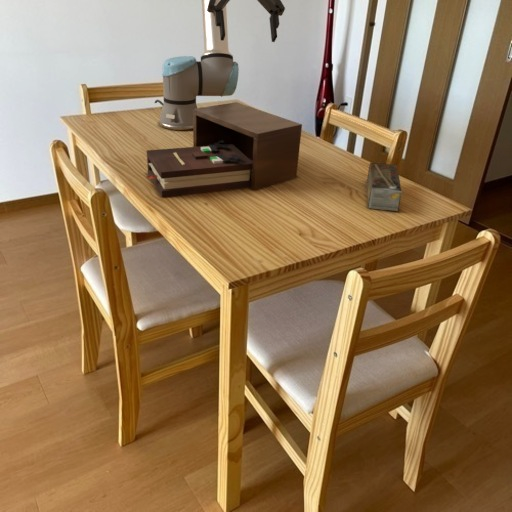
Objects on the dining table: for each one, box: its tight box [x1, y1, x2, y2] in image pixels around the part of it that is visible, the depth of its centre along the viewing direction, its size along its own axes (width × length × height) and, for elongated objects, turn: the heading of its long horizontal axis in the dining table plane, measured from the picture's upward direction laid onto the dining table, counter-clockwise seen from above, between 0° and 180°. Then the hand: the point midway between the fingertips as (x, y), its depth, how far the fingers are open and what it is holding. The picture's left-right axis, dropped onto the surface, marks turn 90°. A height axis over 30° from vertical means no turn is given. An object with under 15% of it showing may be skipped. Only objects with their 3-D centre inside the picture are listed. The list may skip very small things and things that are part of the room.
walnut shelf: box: [192, 101, 303, 191], centre depth 140 cm, size 28×16×16 cm, turn 42°
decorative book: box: [146, 141, 253, 198], centre depth 133 cm, size 19×8×30 cm
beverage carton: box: [366, 162, 402, 212], centre depth 131 cm, size 8×19×7 cm, turn 170°
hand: (249, 38), depth 124 cm, fingers open, 13 cm apart
